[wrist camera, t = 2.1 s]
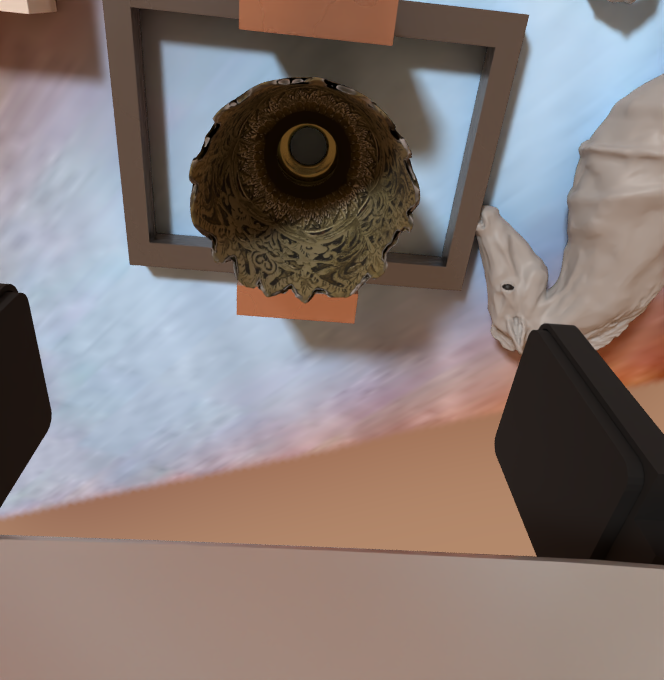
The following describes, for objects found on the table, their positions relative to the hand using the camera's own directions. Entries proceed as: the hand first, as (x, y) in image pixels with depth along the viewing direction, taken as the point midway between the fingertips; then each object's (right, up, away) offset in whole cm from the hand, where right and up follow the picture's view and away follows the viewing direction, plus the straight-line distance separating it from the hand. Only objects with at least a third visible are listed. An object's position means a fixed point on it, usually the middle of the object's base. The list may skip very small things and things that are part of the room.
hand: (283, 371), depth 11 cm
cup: (0, +9, +14) cm, 17 cm away
